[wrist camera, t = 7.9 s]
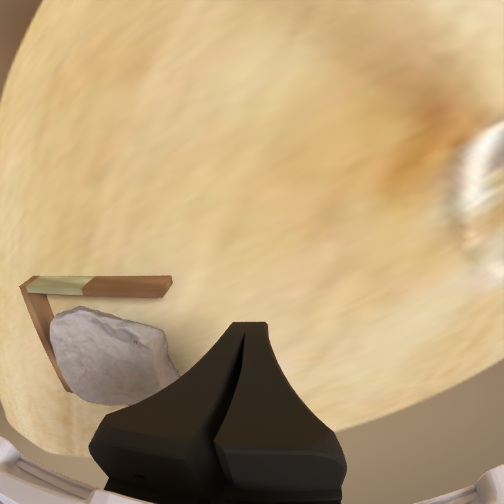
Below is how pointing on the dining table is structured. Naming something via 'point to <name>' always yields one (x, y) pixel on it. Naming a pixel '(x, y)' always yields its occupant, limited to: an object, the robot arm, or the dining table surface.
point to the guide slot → (82, 285)
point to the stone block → (110, 357)
